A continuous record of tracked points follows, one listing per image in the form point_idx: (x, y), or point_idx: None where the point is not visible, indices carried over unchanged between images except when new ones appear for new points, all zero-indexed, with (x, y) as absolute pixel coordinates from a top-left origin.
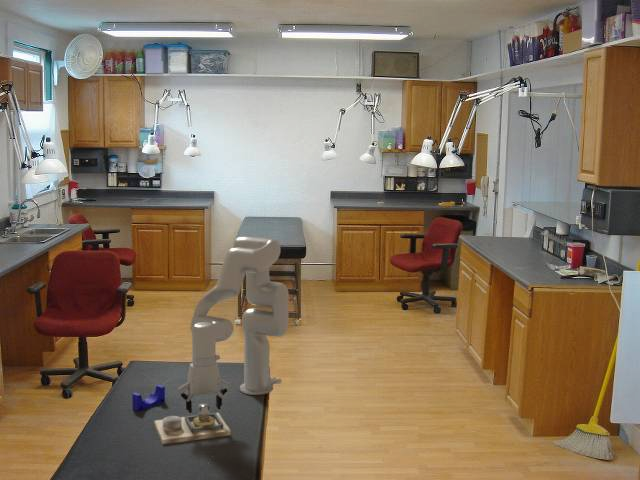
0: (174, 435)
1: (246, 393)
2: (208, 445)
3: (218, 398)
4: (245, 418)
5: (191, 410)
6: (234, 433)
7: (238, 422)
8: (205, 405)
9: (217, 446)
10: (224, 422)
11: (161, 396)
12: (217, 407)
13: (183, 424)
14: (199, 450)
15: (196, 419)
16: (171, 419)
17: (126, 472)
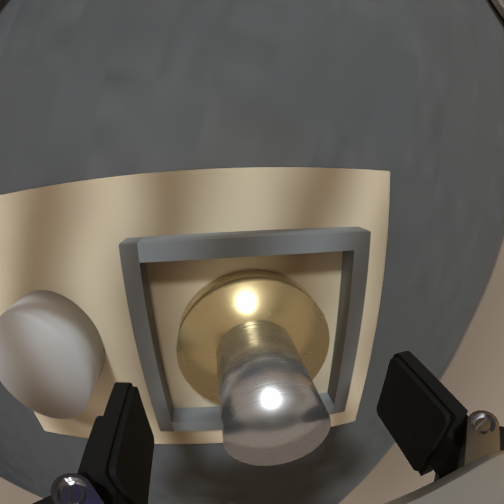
0: (81, 417)
1: (493, 2)
2: (231, 465)
3: (420, 469)
4: (468, 241)
5: (151, 453)
6: (368, 392)
7: (432, 281)
8: (292, 436)
9: (263, 471)
10: (371, 334)
11: None
12: (384, 395)
13: (114, 312)
14: (192, 482)
15: (201, 339)
16: (29, 371)
17: (20, 484)
